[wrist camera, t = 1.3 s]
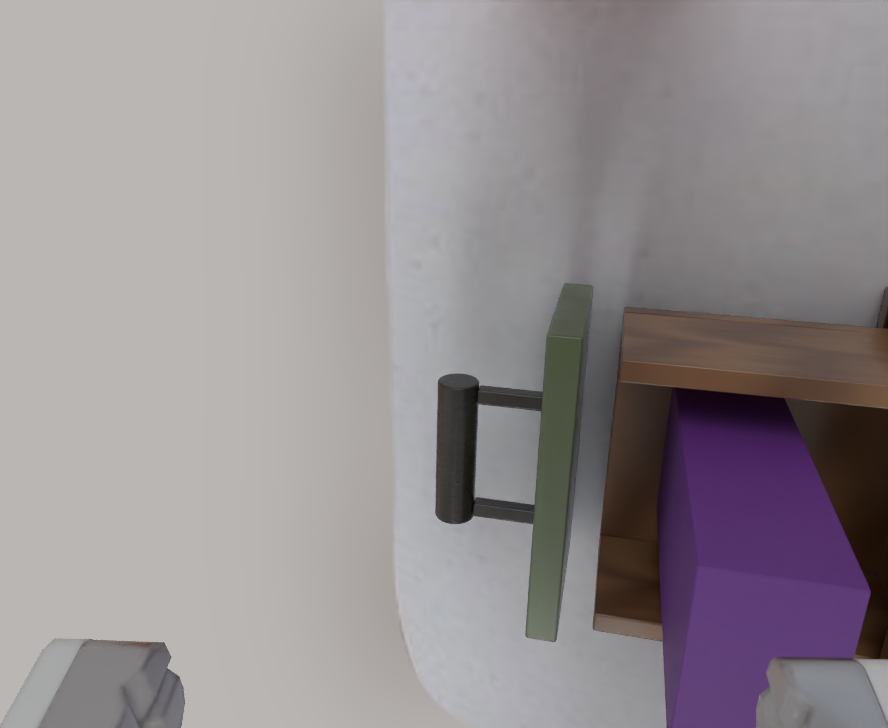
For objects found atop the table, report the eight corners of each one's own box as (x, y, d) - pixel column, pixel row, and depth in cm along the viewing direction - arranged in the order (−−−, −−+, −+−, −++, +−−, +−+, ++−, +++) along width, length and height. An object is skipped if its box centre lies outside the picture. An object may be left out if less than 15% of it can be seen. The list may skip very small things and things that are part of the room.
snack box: (755, 520, 33) (823, 779, 21) (656, 507, 33) (667, 749, 22) (780, 387, 31) (872, 591, 19) (674, 376, 31) (697, 566, 19)
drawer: (453, 528, 37) (417, 619, 31) (460, 274, 33) (420, 323, 27) (882, 589, 34) (937, 708, 27) (955, 313, 29) (1042, 379, 23)
